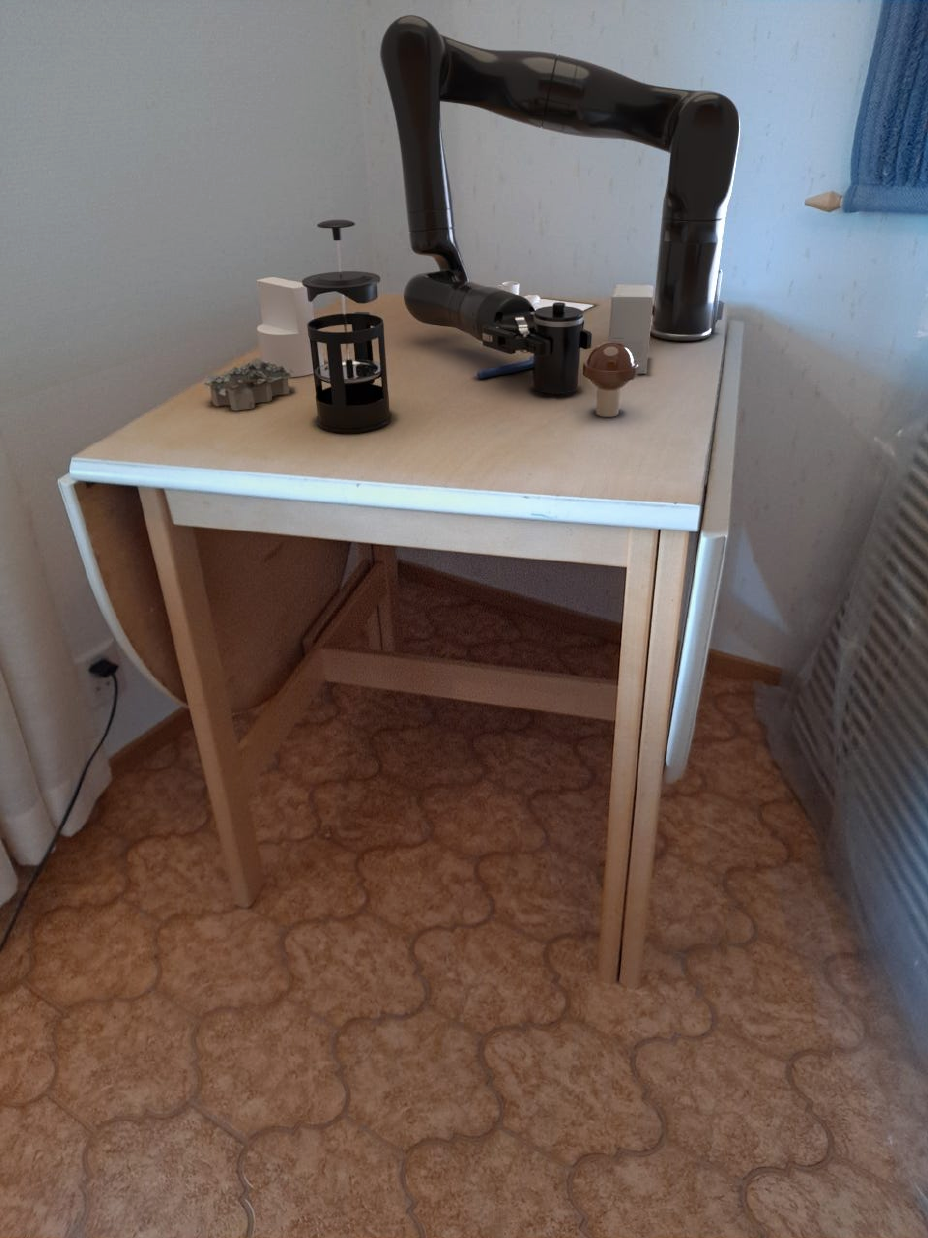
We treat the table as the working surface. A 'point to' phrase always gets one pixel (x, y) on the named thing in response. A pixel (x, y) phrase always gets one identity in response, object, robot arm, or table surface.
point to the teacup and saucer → (538, 298)
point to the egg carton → (248, 385)
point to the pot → (558, 348)
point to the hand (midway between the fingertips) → (568, 345)
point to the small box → (632, 320)
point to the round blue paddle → (506, 368)
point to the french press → (352, 389)
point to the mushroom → (609, 374)
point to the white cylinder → (286, 325)
